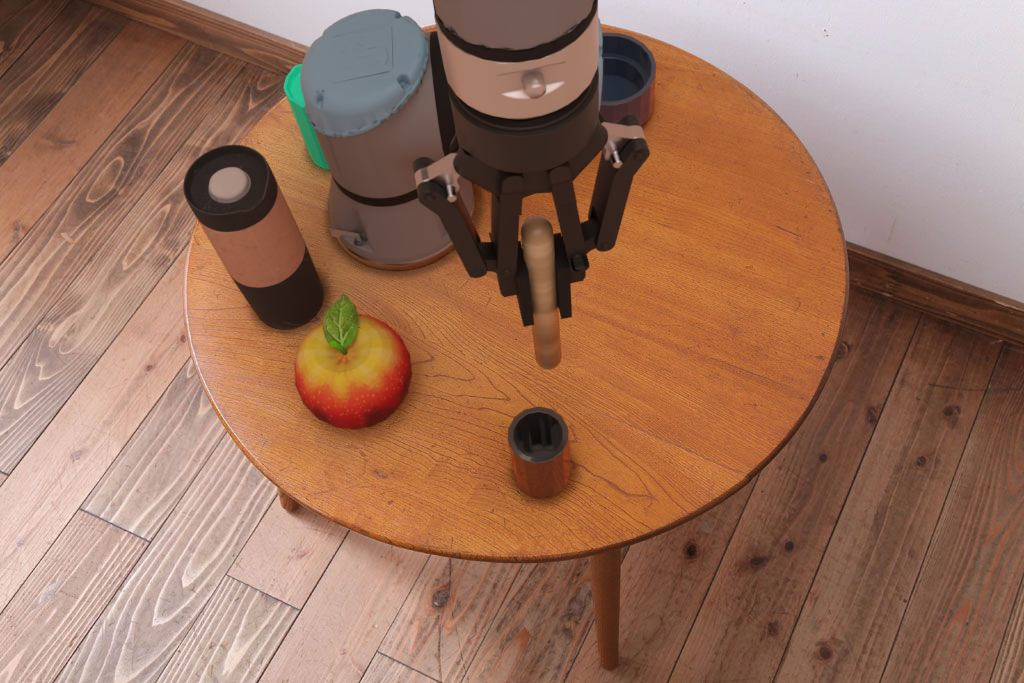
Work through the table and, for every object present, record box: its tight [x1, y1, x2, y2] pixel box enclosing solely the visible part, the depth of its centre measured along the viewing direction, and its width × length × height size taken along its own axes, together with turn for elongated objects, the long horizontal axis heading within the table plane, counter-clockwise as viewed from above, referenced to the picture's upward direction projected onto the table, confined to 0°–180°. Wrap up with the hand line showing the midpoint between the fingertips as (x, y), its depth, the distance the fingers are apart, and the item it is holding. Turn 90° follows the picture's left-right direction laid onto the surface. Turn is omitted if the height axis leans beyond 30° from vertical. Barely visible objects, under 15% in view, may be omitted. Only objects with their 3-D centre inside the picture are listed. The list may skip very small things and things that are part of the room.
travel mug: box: [182, 144, 324, 331], centre depth 95 cm, size 8×8×20 cm
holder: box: [507, 406, 572, 500], centre depth 89 cm, size 5×5×9 cm
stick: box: [520, 215, 562, 371], centre depth 70 cm, size 2×2×19 cm
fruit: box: [293, 292, 413, 430], centre depth 93 cm, size 11×11×10 cm
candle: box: [283, 63, 330, 171], centre depth 107 cm, size 6×6×12 cm
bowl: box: [599, 32, 657, 127], centre depth 109 cm, size 10×10×6 cm
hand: (543, 305), depth 71 cm, fingers closed on stick, 2 cm apart
